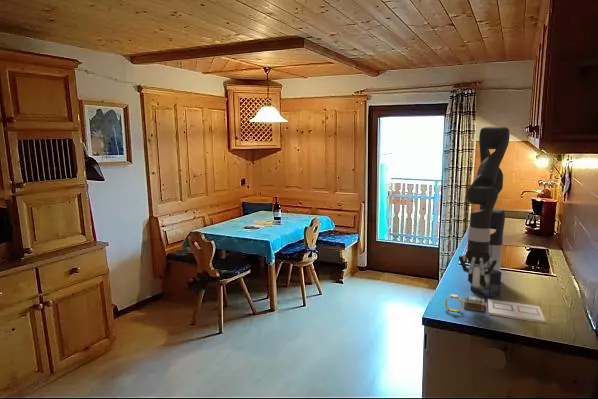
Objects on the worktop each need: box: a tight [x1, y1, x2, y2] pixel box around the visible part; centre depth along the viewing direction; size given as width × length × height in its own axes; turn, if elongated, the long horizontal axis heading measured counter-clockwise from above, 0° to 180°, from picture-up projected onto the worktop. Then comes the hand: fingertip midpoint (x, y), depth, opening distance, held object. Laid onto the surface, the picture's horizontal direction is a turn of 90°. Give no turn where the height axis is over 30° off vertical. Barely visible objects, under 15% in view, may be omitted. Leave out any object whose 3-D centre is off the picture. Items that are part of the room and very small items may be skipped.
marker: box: [470, 264, 481, 288], centre depth 159 cm, size 3×3×9 cm
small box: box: [470, 266, 503, 299], centre depth 177 cm, size 11×6×10 cm, turn 21°
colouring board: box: [487, 298, 547, 324], centre depth 157 cm, size 16×18×1 cm
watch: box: [444, 293, 464, 313], centre depth 155 cm, size 6×3×6 cm, turn 60°
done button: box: [468, 296, 482, 303], centre depth 160 cm, size 4×4×3 cm
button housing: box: [463, 295, 486, 312], centre depth 160 cm, size 7×7×2 cm
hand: (475, 283), depth 160 cm, fingers closed on marker, 3 cm apart
